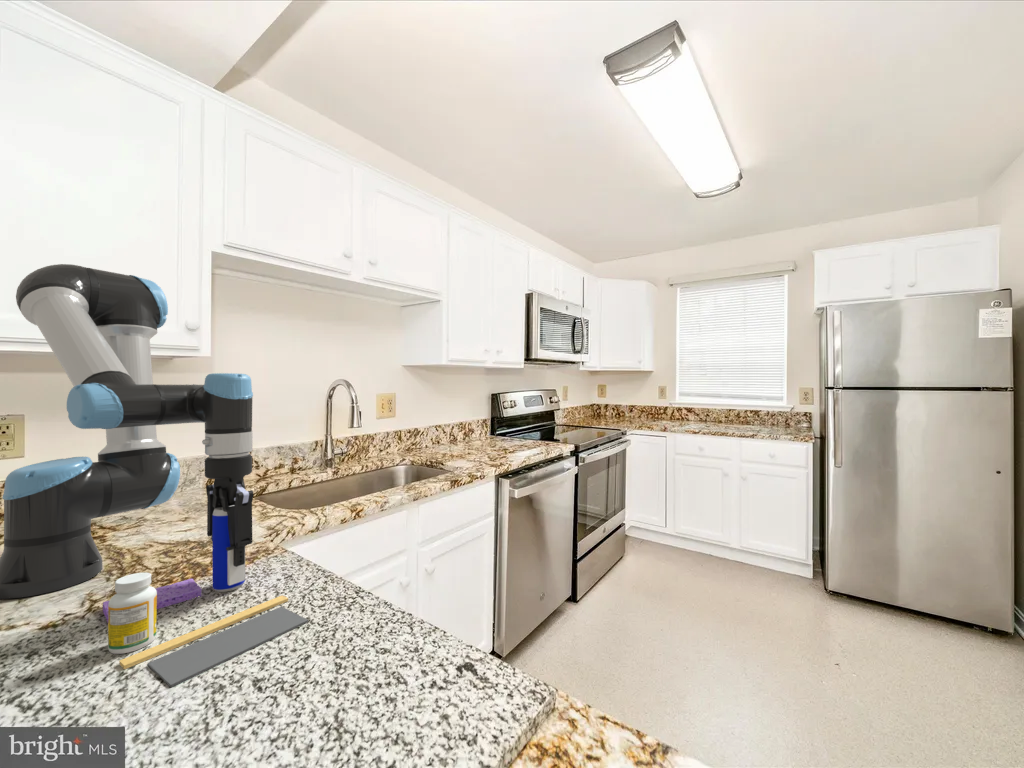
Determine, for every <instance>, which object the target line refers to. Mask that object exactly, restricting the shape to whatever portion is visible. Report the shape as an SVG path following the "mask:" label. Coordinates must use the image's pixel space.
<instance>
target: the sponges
mask: <svg viewBox="0 0 1024 768" xmlns="http://www.w3.org/2000/svg"><path fill="white" fill-rule="evenodd" d="M154 588H155V587H154ZM155 589H156V591H157V610H159V609H162V608H166V607H169V606H172V605H176V604H180V603H183V602H186V600H187V601H190V600H193V599H192V598H194V599H196V598H195V597H197V598H199V597H198V596H200V597H202V589H203V588H202V587H201V586H200V585H198V583H197V582H196V581H195V580H194V578H188V579H185V580H182V581H177V582H175V583H172V584H169V585H164V586H159V587H156V588H155ZM189 599H190V600H189ZM109 601H110V599H109V600H106V601H103V602H102V612H103V614H104V617H105V619H106V622H107V624H108V604H109Z"/></svg>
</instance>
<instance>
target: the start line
mask: <svg viewBox="0 0 1024 768" xmlns="http://www.w3.org/2000/svg"><path fill="white" fill-rule="evenodd" d="M287 602H289V597H286V596H284V595H283V594H282V595H279V596H276V597H274V598H272V599H270V600H267V601H265V602H262V603H259V604H257V605H254V606H252V607H249V608H246V609H244V610H241V611H239V612H236V613H235V614H232V615H230V616H227V617H225V618H222V619H220V620H217V621H215V622H212V623H210V624H206V625H205V626H203V627H200V628H197V629H194V630H192V631H190V632H188V633H184V634H182V635H180V636H177V637H175V638H172V639H170V640H167V641H165V642H163V643H159V644H158V645H155V646H153V647H150V648H147V649H145V650H142V651H140V652H138V653H135V654H132V655H130V656H127V657H125V658H123V659H120V660H119V665H120V666H121V668H122V669H123V670H127V669H129V668H131V667H134V666H136V665H139V664H141V663H143V662H146V661H149V660H150V659H153V658H155V657H158V656H160V655H164V654H165V653H167V652H169V651H173V650H175V649H177V648H179V647H181V646H184V645H186V644H188V643H192V642H193V641H196V640H198V639H200V638H203V637H206V636H207V635H210V634H212V633H214V632H217V631H221V630H223V629H225V628H227V627H229V626H231V625H234V624H237V623H239V622H241V621H244V620H247V619H248V618H251V617H253V616H255V615H259V614H260V613H263V612H265V611H268V610H270V609H272V608H274V607H277V606H278V607H279V605H282V604H285V603H287Z"/></svg>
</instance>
